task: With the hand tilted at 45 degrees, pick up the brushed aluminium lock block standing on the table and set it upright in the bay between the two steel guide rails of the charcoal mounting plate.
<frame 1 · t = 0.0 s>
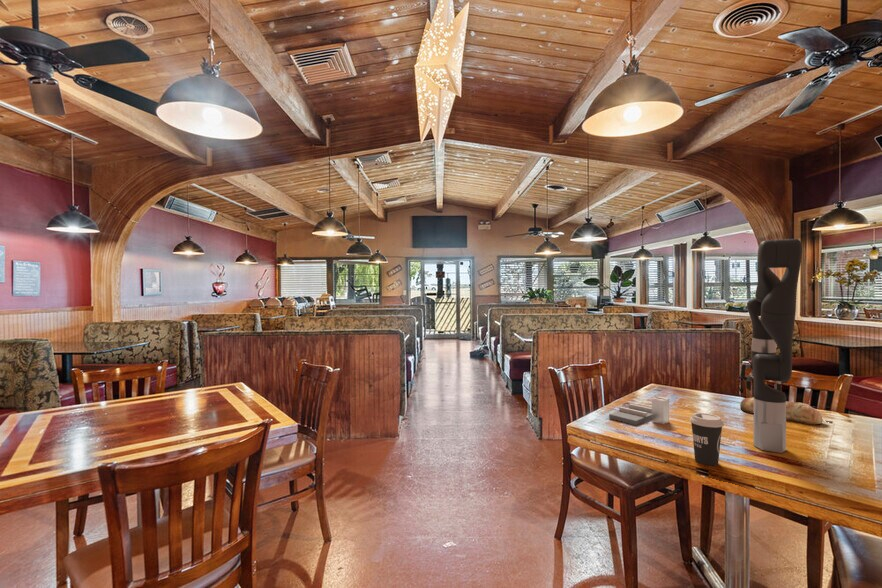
hand: (763, 391, 162), 17 cm above the table, tool pointing down, fingers open, 8 cm apart
coffee cup: (706, 462, 139), on the table
lock block: (660, 421, 181), on the table
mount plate: (637, 416, 189), on the table
bread loaf: (779, 418, 187), on the table
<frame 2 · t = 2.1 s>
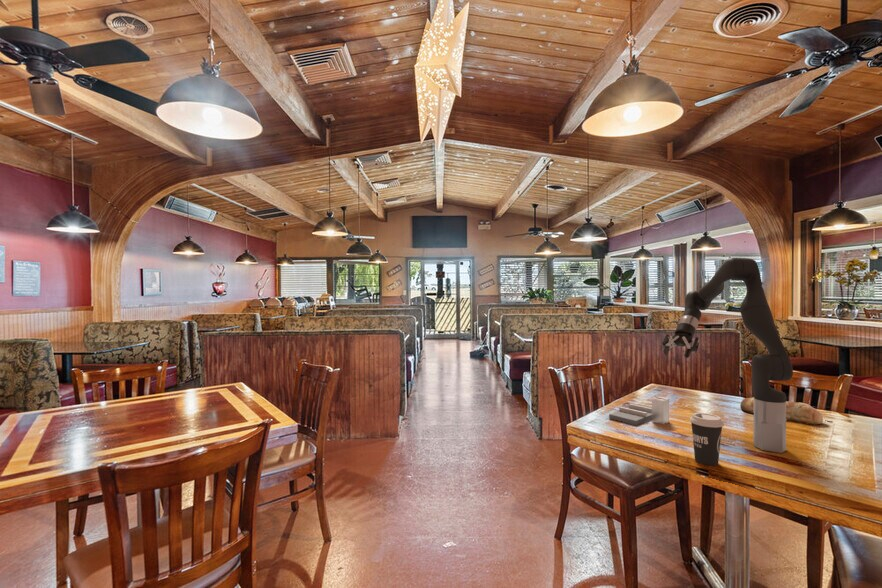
hand: (675, 355, 187), 27 cm above the table, tool tilted 45°, fingers open, 8 cm apart
nothing on the table moved.
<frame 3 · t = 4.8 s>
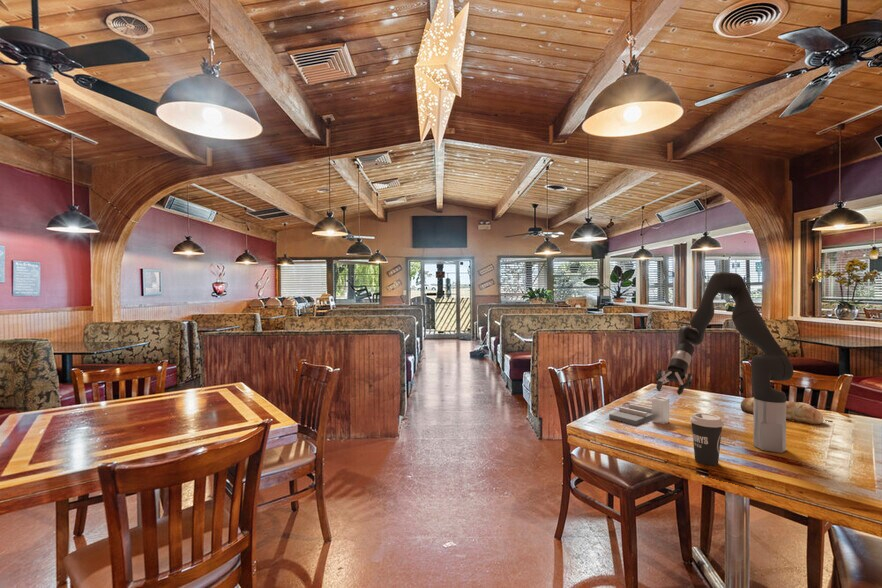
hand: (668, 391, 185), 12 cm above the table, tool tilted 45°, fingers open, 8 cm apart
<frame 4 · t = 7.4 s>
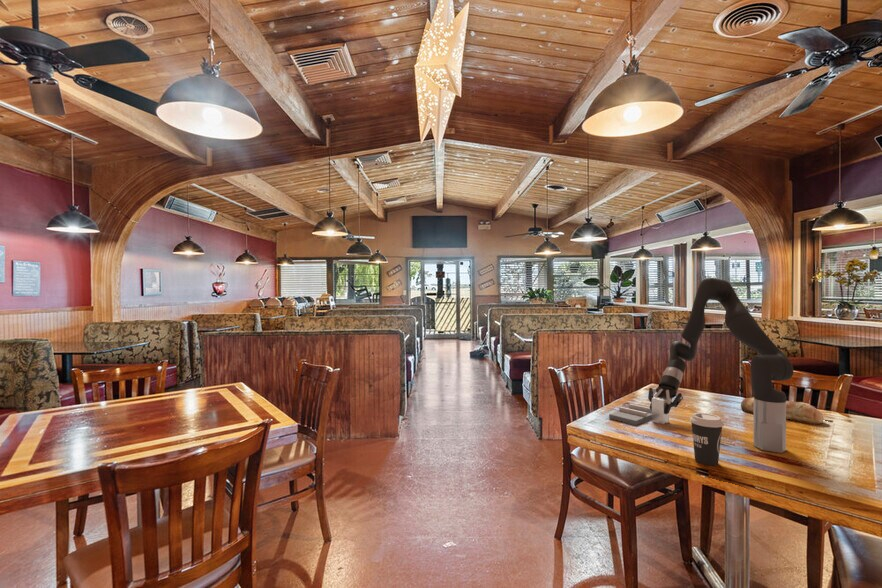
hand: (658, 411, 180), 5 cm above the table, tool tilted 45°, fingers closed on lock block, 5 cm apart
lock block: (660, 421, 181), on the table, touching gripper
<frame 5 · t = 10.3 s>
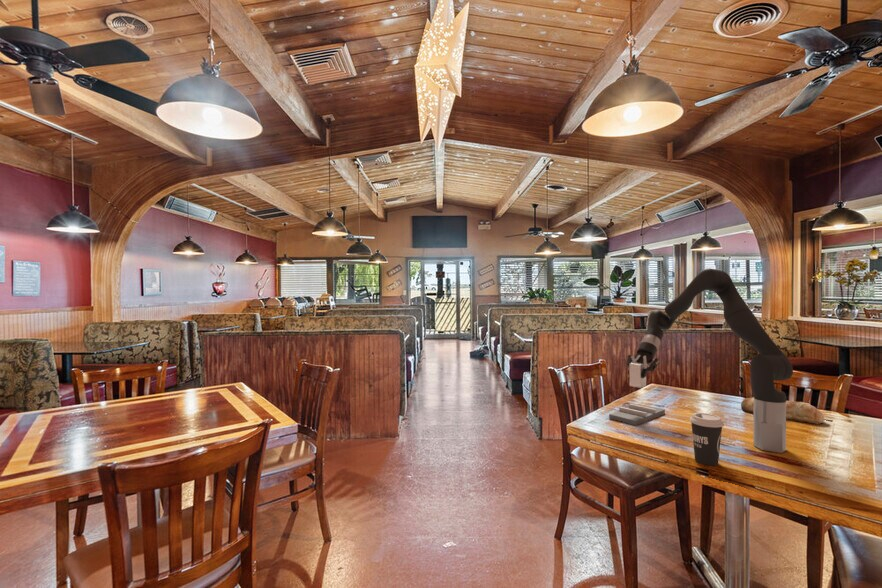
hand: (635, 376, 188), 18 cm above the table, tool tilted 45°, fingers closed on lock block, 5 cm apart
lock block: (637, 385, 189), point 14 cm above the table, touching gripper
when the fingers open (8 cm above the table, at t = 13.2 s): lock block stays where it is, resting on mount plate.
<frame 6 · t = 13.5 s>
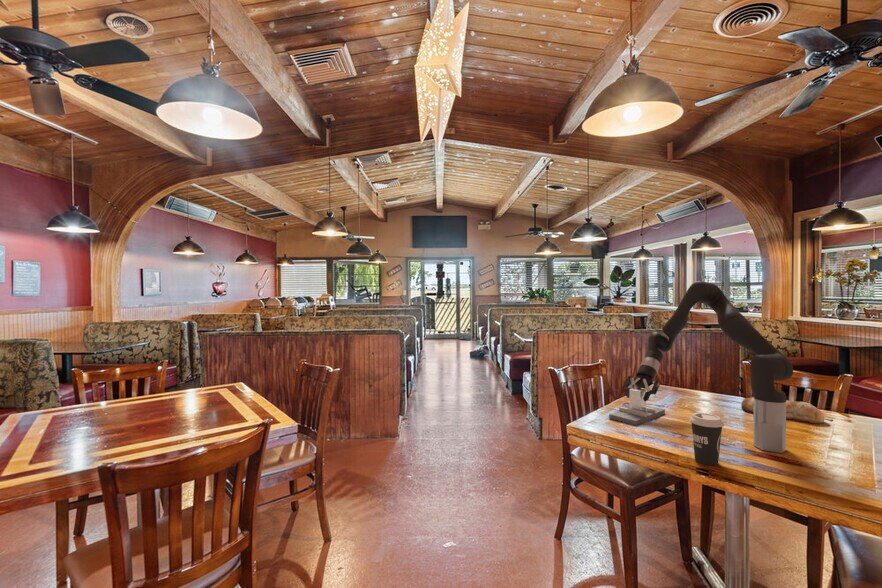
hand: (635, 398, 188), 8 cm above the table, tool tilted 45°, fingers open, 7 cm apart
lock block: (637, 411, 189), point 2 cm above the table, touching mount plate
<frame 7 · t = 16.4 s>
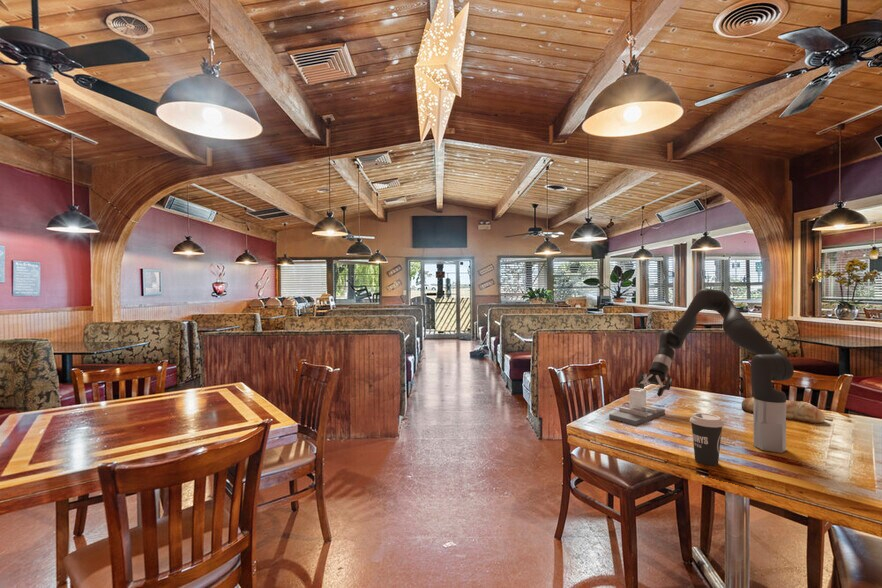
hand: (649, 393, 195), 8 cm above the table, tool tilted 45°, fingers open, 8 cm apart
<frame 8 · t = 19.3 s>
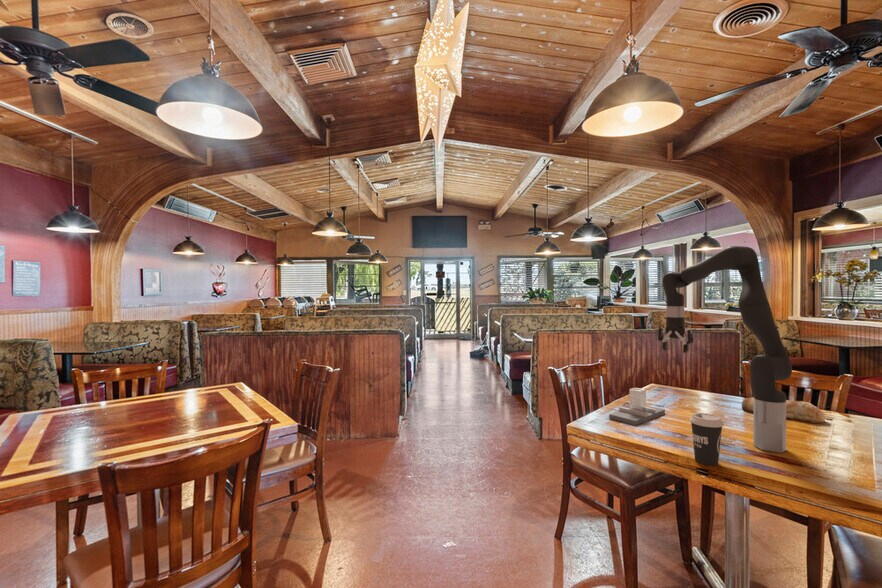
hand: (675, 351, 193), 28 cm above the table, tool pointing down, fingers open, 8 cm apart
at the end: lock block 0.1 cm off-centre on the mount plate, point 2.0 cm above the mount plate's base; lock block tilted 0°; the gripper is holding nothing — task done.
